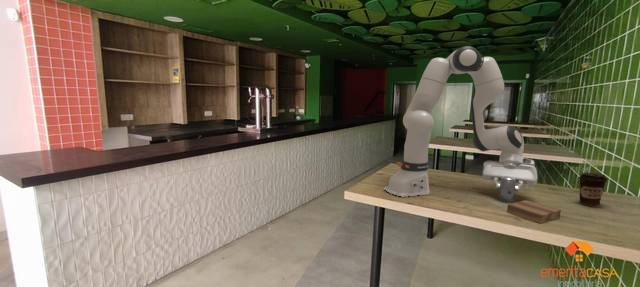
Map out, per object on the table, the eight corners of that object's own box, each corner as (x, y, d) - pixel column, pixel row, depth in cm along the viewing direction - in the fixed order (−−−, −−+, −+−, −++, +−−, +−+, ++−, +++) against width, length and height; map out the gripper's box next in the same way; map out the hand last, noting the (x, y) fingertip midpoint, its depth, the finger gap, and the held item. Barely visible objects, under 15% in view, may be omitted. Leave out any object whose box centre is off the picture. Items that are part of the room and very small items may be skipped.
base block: (540, 223, 103) (541, 215, 102) (506, 212, 114) (507, 204, 113) (559, 217, 108) (560, 210, 107) (525, 206, 119) (526, 199, 118)
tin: (508, 203, 122) (510, 180, 121) (496, 199, 127) (498, 176, 126) (516, 201, 124) (519, 178, 123) (504, 197, 129) (506, 175, 128)
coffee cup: (606, 210, 115) (611, 178, 113) (578, 206, 119) (582, 175, 117) (600, 203, 122) (604, 173, 120) (574, 199, 126) (578, 170, 124)
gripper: (484, 156, 135) (479, 181, 128) (538, 161, 123) (537, 189, 117) (484, 163, 139) (480, 188, 133) (537, 169, 127) (535, 197, 121)
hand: (507, 189), depth 124 cm, fingers closed on tin, 5 cm apart
